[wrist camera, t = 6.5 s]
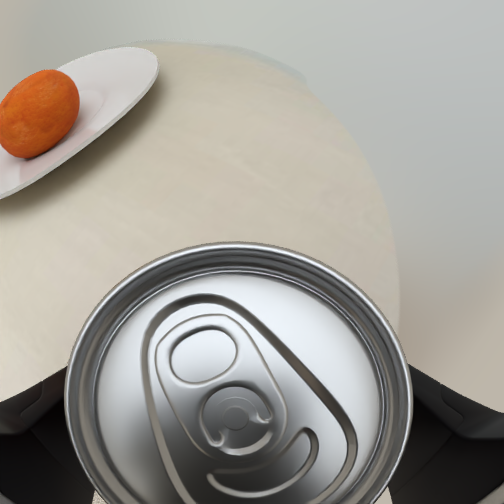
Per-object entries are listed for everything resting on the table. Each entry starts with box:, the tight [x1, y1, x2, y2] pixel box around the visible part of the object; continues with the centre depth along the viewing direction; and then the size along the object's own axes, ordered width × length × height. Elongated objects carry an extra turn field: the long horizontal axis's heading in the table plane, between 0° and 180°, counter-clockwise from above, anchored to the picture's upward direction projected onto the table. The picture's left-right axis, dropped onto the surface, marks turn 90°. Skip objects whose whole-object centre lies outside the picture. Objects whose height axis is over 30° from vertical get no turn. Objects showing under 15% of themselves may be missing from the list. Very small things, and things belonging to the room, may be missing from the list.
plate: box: [0, 47, 160, 199], centre depth 21 cm, size 28×28×9 cm
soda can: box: [64, 241, 413, 504], centre depth 9 cm, size 7×7×12 cm
